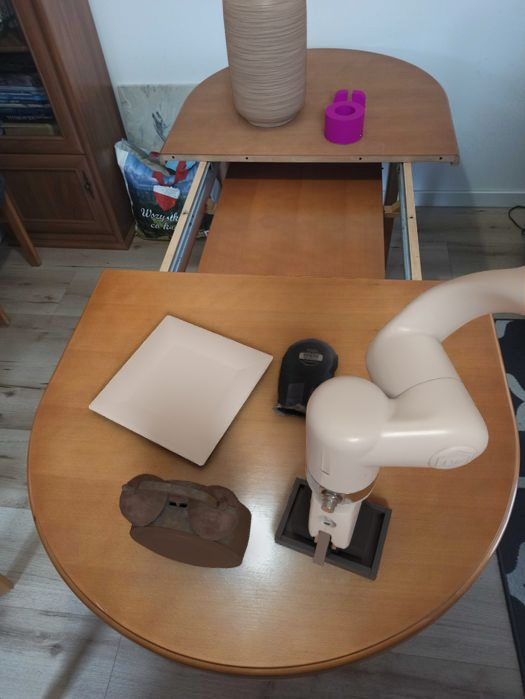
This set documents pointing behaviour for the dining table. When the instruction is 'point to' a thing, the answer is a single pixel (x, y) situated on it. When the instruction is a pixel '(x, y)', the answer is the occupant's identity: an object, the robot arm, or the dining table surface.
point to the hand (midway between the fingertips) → (333, 523)
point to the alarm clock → (187, 520)
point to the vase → (267, 58)
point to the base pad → (343, 560)
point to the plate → (182, 387)
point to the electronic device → (303, 375)
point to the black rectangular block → (360, 529)
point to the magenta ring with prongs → (345, 117)
